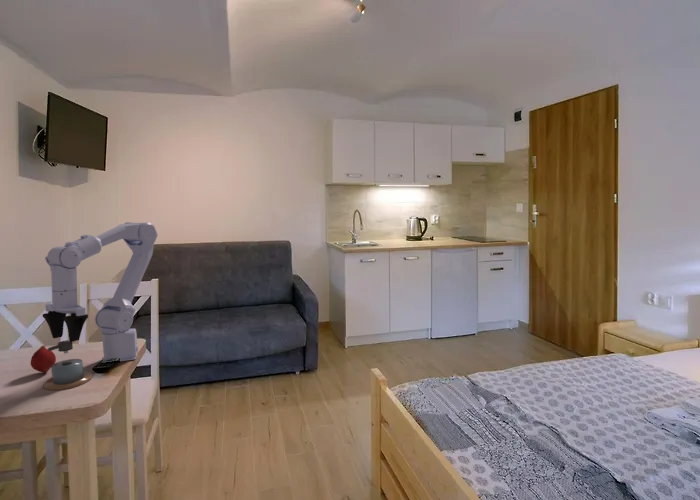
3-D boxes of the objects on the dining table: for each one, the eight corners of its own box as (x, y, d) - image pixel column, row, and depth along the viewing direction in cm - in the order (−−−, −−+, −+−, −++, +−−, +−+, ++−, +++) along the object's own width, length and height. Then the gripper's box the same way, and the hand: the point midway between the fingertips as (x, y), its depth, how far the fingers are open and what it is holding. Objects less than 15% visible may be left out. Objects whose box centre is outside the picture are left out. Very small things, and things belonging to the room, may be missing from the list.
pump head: (74, 350, 115) (73, 339, 115) (70, 356, 111) (69, 345, 110) (53, 352, 113) (52, 342, 113) (48, 358, 109) (47, 347, 109)
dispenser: (95, 370, 121) (94, 352, 120) (88, 385, 111) (86, 365, 110) (50, 377, 117) (48, 358, 116) (38, 393, 107) (36, 372, 106)
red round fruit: (37, 378, 116) (34, 350, 115) (28, 374, 119) (25, 347, 118) (60, 371, 121) (58, 344, 120) (51, 367, 124) (48, 341, 123)
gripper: (32, 290, 114) (34, 339, 115) (65, 294, 108) (67, 346, 109) (60, 287, 121) (61, 333, 121) (92, 290, 114) (93, 339, 115)
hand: (66, 339), depth 115 cm, fingers open, 7 cm apart
